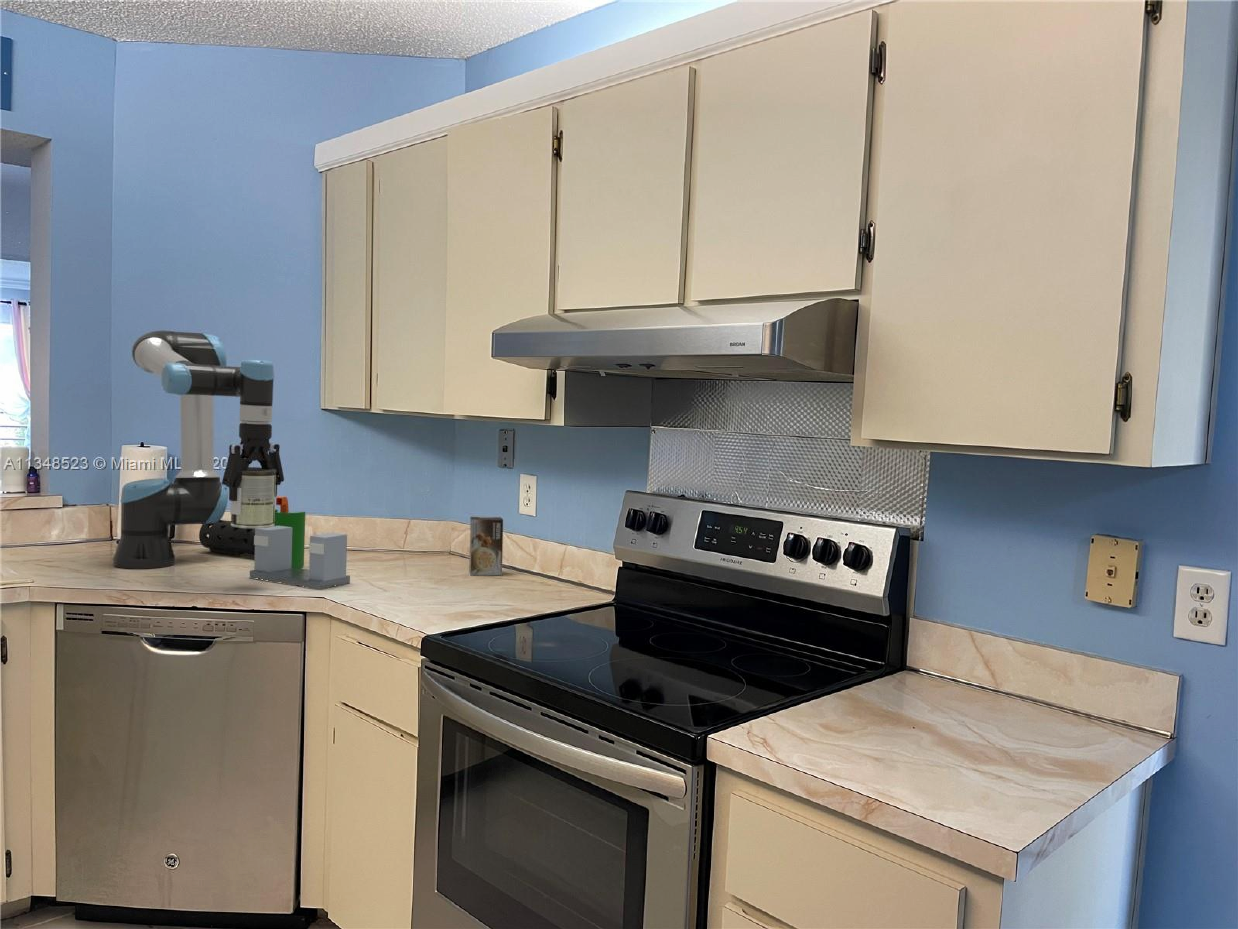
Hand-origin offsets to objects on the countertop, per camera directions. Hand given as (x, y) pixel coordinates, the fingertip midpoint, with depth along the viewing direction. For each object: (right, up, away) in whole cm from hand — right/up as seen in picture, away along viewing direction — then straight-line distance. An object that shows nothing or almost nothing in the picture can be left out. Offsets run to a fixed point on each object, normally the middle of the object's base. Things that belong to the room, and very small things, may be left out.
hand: (253, 512), depth 232 cm
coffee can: (0, -4, 0) cm, 4 cm away
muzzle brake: (-20, -16, +46) cm, 52 cm away
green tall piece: (-4, -17, +32) cm, 36 cm away
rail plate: (+7, -19, +13) cm, 24 cm away
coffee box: (+53, -20, +35) cm, 66 cm away
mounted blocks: (+7, -17, +12) cm, 22 cm away
